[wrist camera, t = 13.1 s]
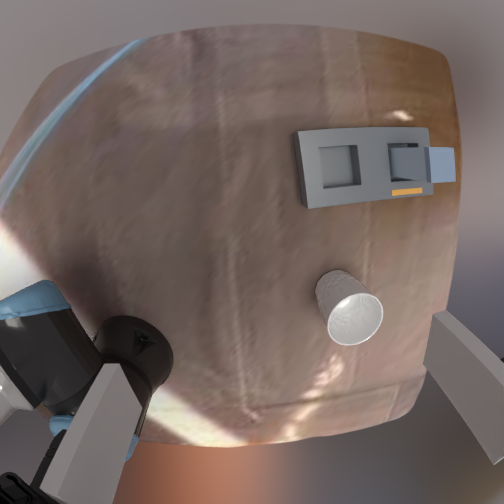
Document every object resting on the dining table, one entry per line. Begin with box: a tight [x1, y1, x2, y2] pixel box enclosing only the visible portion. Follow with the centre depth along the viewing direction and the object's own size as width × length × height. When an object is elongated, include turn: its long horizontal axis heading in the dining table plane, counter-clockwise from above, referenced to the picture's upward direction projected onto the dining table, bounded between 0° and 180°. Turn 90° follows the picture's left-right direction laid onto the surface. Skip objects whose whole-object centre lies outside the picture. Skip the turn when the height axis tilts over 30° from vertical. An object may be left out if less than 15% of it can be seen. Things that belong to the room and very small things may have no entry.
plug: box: [388, 147, 456, 183], centre depth 32 cm, size 4×4×12 cm
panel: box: [293, 127, 434, 209], centre depth 37 cm, size 20×10×4 cm, turn 99°
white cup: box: [315, 270, 383, 345], centre depth 40 cm, size 8×8×10 cm
